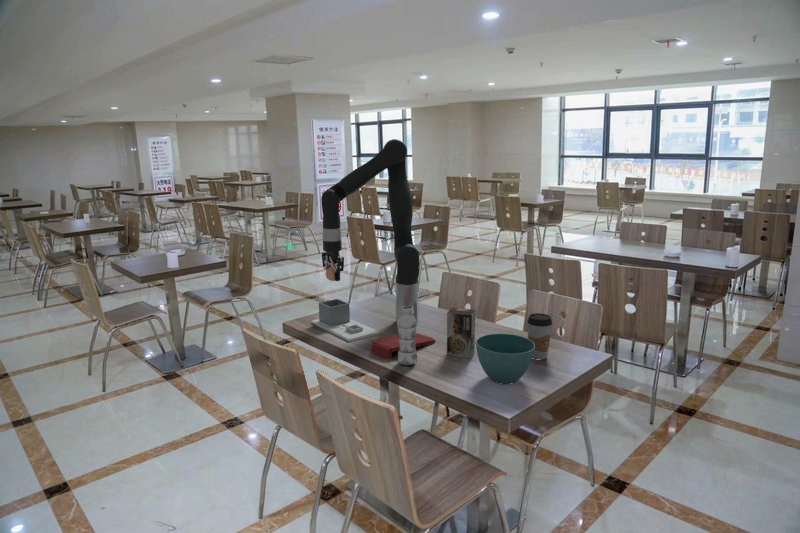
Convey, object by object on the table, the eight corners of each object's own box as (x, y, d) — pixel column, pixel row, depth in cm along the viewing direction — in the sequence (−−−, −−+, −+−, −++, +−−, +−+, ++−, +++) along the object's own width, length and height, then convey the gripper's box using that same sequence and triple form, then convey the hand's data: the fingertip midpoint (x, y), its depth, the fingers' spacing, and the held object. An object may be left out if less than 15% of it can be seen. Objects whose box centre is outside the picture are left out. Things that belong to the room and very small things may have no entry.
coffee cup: (536, 363, 189) (538, 321, 185) (520, 355, 196) (522, 314, 193) (555, 359, 192) (557, 318, 189) (538, 351, 200) (541, 311, 196)
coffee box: (475, 352, 199) (476, 309, 195) (471, 358, 193) (472, 314, 189) (450, 349, 202) (451, 307, 198) (445, 355, 196) (446, 312, 192)
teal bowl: (490, 363, 189) (491, 329, 186) (541, 376, 179) (543, 340, 176) (465, 382, 174) (466, 345, 171) (519, 396, 164) (521, 358, 161)
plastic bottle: (417, 367, 186) (417, 310, 181) (397, 367, 186) (396, 310, 181) (417, 360, 192) (417, 304, 188) (397, 360, 192) (397, 304, 188)
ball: (341, 279, 229) (341, 265, 228) (338, 282, 224) (338, 268, 222) (327, 278, 230) (327, 264, 229) (324, 282, 224) (323, 267, 223)
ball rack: (311, 322, 232) (310, 302, 230) (339, 316, 241) (339, 296, 239) (349, 341, 210) (348, 319, 208) (379, 334, 218) (378, 312, 216)
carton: (412, 344, 218) (367, 352, 199) (413, 332, 218) (368, 339, 199) (436, 352, 210) (391, 361, 192) (437, 339, 210) (393, 347, 191)
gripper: (349, 240, 220) (350, 281, 223) (330, 235, 231) (331, 274, 235) (333, 242, 215) (334, 284, 219) (314, 237, 226) (316, 277, 230)
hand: (333, 279), depth 227 cm, fingers closed on ball, 6 cm apart
